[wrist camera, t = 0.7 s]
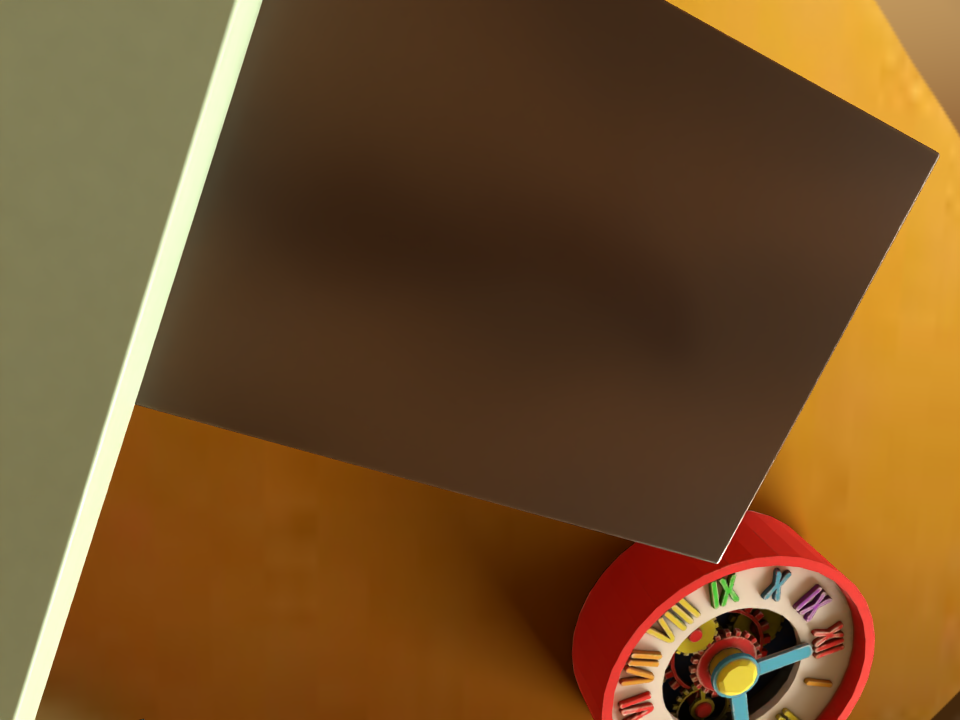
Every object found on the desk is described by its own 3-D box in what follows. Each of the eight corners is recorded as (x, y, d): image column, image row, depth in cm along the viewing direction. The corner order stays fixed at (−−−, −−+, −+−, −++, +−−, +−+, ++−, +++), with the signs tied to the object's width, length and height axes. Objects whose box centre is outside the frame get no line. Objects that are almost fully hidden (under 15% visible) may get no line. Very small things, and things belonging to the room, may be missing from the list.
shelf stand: (164, -57, 35) (-249, -511, 9) (541, 119, 41) (943, 153, 15) (105, 150, 37) (-360, 270, 11) (472, 287, 43) (719, 566, 17)
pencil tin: (90, -630, 9) (-4, -948, 6) (397, -421, 10) (429, -610, 8) (-224, 769, 14) (-353, 933, 11) (11, 795, 15) (-55, 948, 13)
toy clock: (577, 616, 45) (871, 516, 48) (548, 561, 51) (814, 473, 53) (625, 838, 52) (878, 741, 55) (595, 769, 58) (827, 684, 60)
